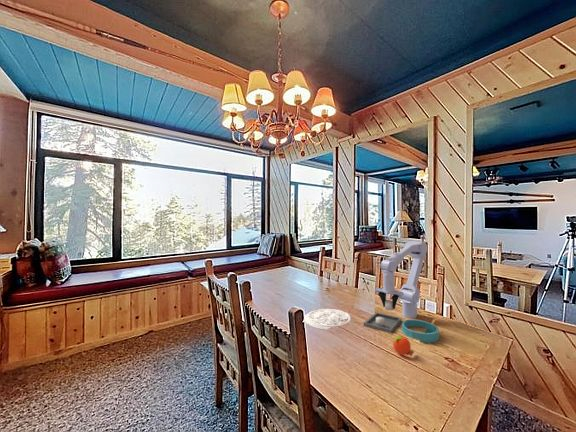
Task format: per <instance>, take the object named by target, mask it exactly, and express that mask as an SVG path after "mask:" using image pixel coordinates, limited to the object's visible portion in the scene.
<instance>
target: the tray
mask: <svg viewBox="0 0 576 432" xmlns="http://www.w3.org/2000/svg"><path fill="white" fill-rule="evenodd" d="M376 317H383V318H385V327H380V326H377V325H376ZM401 322H403V321H402V318H401V317H398V316H394V315H390V314H385V313H380V312H375V313H374V314H372V315H371V316H370V317H369V318H368V319H366V320H365V321H364V322H363V327H366V328H369V329H374V330H377V331H380V332H384V333H388V334H392V333H393V332H394V331H395V330H396V328H397V327H398V326H399V325H400V324H401Z"/></svg>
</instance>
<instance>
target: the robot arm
mask: <svg viewBox="0 0 576 432" xmlns="http://www.w3.org/2000/svg"><path fill="white" fill-rule="evenodd" d="M427 252H428V244H427V243H426V242H425V241H417V240H416V241H415V240H408V241H407V242H405V245H404V247H403V248H402V249H401V250H400V251H399V252H393V254H392V255H391V256H389V257H388V258H387V259H383V260H382V261H381V262H380V266H379V267H380V269H381V272H382V283H383V285H382V286H383V288H381V287H376V288H375V289H374V293H378V297H379V298H380V300H381V303H382V306H383V308H385V300H387V295H392V296H391V301H393V309H394V310H395V309H396V306H397V301H398V300H399V299H401V300H400V301H401V302H402V303H401V304H402V306H401V308H402V309H401V310H402V316H403V317H404V318H407V319H416V318H417V315H418V303H419V302H420V298H421V295H420V294H421V291H420V289H419V288H418V282H419V278H420V274H421V272H422V268H423V264H424V260H425V258H426V255H427ZM409 254H410V256H412V257H413V260H412V263H411V267H410V271H409V273H408V277H407V281H406V283H405V284H403V285H402V286H401V288H400V289H399V290H395V289H396V288H395V271H396V270H397V268H398V266H399V265H400V264H401V263H402V262H403V261H404V258H405V257H406V256H408V255H409Z"/></svg>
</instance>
